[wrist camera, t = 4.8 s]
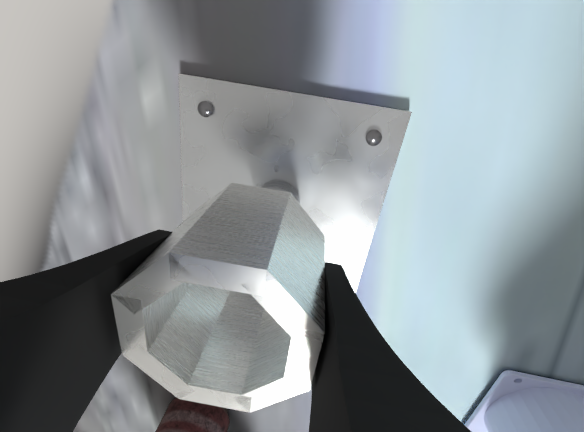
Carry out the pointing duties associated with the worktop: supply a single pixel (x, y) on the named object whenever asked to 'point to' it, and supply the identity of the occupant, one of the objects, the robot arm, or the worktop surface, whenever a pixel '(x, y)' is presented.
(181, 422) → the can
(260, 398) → the sleeve
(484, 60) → the worktop surface
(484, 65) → the worktop surface
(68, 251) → the worktop surface
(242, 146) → the duct plate
